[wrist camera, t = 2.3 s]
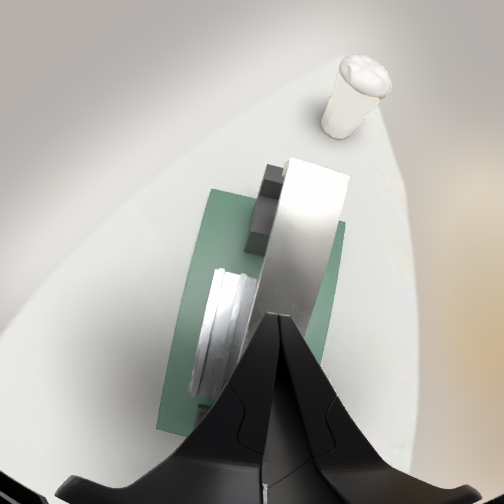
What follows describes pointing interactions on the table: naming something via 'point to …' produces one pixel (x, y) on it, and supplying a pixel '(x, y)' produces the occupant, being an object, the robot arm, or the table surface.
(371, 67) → the milkshake
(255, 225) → the lug block
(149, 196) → the table surface
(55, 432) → the table surface
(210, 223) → the board
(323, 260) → the metal bar
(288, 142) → the table surface
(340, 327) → the table surface
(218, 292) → the heatsink
